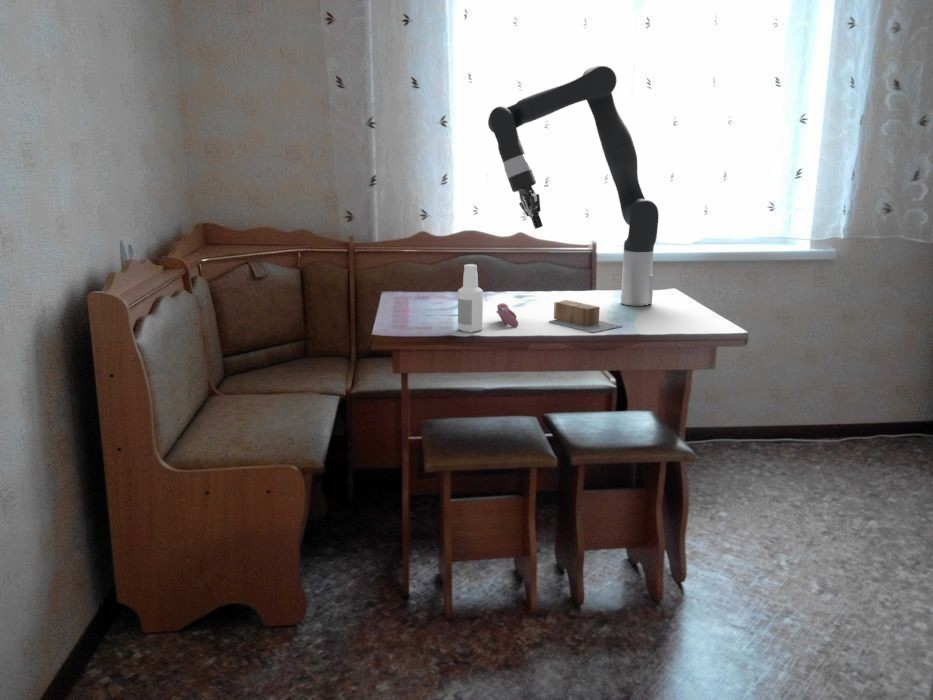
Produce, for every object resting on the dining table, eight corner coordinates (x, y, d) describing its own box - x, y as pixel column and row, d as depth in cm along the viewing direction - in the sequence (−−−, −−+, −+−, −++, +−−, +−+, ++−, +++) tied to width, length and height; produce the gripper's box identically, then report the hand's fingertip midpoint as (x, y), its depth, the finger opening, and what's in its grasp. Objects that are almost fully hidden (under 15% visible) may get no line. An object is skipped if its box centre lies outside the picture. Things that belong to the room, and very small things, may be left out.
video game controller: (503, 325, 232) (493, 304, 230) (517, 318, 231) (507, 297, 230) (505, 332, 222) (494, 311, 221) (519, 325, 222) (509, 303, 220)
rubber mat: (548, 322, 229) (548, 321, 229) (577, 316, 236) (577, 315, 236) (593, 333, 216) (593, 332, 216) (621, 327, 223) (622, 325, 223)
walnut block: (566, 299, 234) (599, 306, 224) (565, 316, 235) (598, 324, 225) (554, 301, 231) (587, 309, 221) (553, 318, 232) (586, 326, 222)
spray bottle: (460, 326, 223) (460, 262, 218) (484, 327, 222) (485, 263, 217) (455, 331, 216) (455, 266, 212) (480, 333, 215) (480, 267, 210)
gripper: (537, 164, 232) (557, 220, 234) (524, 173, 245) (543, 226, 247) (514, 172, 231) (534, 229, 232) (502, 181, 243) (521, 234, 245)
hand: (539, 227), depth 239 cm, fingers closed
